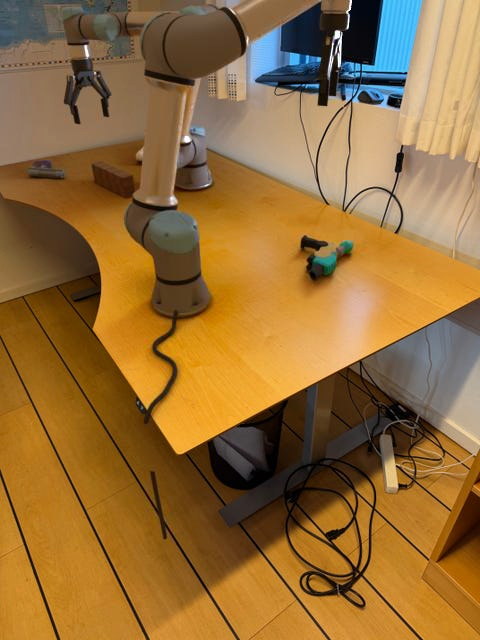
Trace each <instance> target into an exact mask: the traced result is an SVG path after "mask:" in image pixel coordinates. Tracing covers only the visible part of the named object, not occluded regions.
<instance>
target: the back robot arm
mask: <svg viewBox="0 0 480 640" xmlns="http://www.w3.org/2000/svg"><path fill="white" fill-rule="evenodd" d="M220 8H221V7H220V6H218V5H216V4H212V3H211V4H210V3H209V4H208V3H207V4H200V5H197V4H194V5H193V4H192V5H188V6H186V7H183V8H182V9H180V10H178V11H177V10H175V11H174V10H173V11H172V10H170V11H168V10H167V11H125V10H122V11H121V10H120V11H116V12H107V13H106V12H105V13H98V14H92V13H91V14H86V13H85V11H84V9H83V7H81V6H66V7H63V8H61V12H60V13H61V19H62V25H63V29H64V34H65V38H66V43H67V44H66V45H67V48H68V54H69V58H70V64H71V69H72V72H73V75H70V74H67V75H66V84H65V92H64V97H63V104H64V105H67V106H69V112H70V115H71V116H72V117H73V121H74V124H76V125H81V124H82V122H81V118H80V114H79V113H80V112H79V109H78V108H79V107H78V105H76V103H77V101H78V98H79V96H80V93H81V91H82V90H83V88H87V87H92V88H93V89H94V90H95V92H96V93H97V94H98V95H99V96H100V97H101V98H100V104H101V109H102V111H101V112H102V115H103V117H105V118H110V111H109V108H110V105H109V99H110V97H112V92H111V90H110V88H109V86H108V85H107V83H106V81H105V80H104V77H103V75H102V72H101V70H94V62H93V59H92V58H91V57H92V51H91V46H90V41H91V40H92V41H103V42H106V41H113V40H115V38H124V37H127V38H128V37H129V38H130V37H132V38H133V37H138V38H140V35H141V31H142V29H143V27H144V25H145V24H146V22H147V21H148V20H149V19H150V18H152V17H153V16H155V15H157V14H162V13H167V12H171V13H177V14H183V15H194V16H196V15H204V14H209V13H212V12H214V11H216V10H218V9H220ZM95 79H96V80H95ZM201 80H202V78H197V79H195V86H194V88H193V89H192V90H191V91H189V92H188V93H187V96H186V104H185V111H184V118H183V126H182V133H181V141H180V148H179V155H178V163H177V170H176V177H175V185H174V187H176V189H179V190H181V191H186V192H197V191H204V190H206V189H209V188H210V187H212V186H213V179H212V175H211V170H210V169H209V167H208V162H207V161H208V159H207V139H206V138H207V136H206V131H205V130H206V129H205V128H204V127H203V126H200V125H194V124H192V121H193V117H194V112H195V107H196V103H197V99H198V93H199V90H200V84H201Z"/></svg>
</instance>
